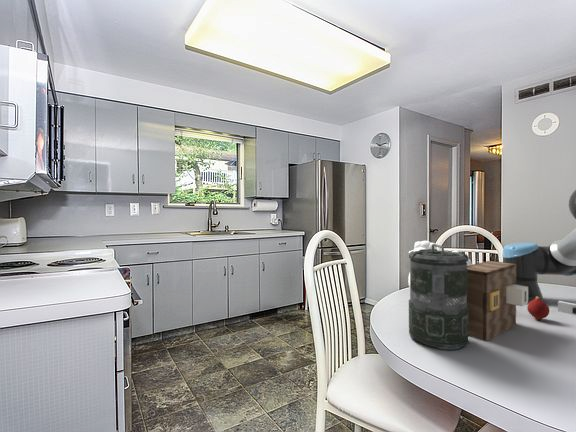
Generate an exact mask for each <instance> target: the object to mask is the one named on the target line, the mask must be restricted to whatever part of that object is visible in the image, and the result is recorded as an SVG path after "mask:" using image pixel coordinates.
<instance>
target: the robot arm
mask: <svg viewBox="0 0 576 432" xmlns="http://www.w3.org/2000/svg"><path fill="white" fill-rule="evenodd" d="M568 208H569V209H568V210H569V212H570V214H571V216H572V217H573V218H574V219H575V220H576V189H575V190H574V191H573V192H572V194H571V195H570V196H569V200H568ZM502 250H503V251H502V262H504V263H512V264H516V285H520V286H526V287H528V304H529V302H530V301H532V300H534V299H536V298H535V297H539V298H540V299H541V300H543V299H544V297H543V293H542V291H541V288H540V286H539V283H538V275H542V276H543V275H548V276H551V275H552V276H565V277H569V276H571V277H572V276H576V227H575V228H574V229H573V230H572V231H570V232H569V233H568V234H567V235H566V236H565V237H564V238H563V239H557V240H555V241H553V242H552V243H551V244H549V245H547V246H543V245H541V246H539V245H538V244H537V243H535V242H514V243H507V244H506V245H505V246H503V249H502ZM543 301H544V300H543ZM557 312H560V313H564V314H568V315H569V314H570V315H574V316H576V303H573V302H567V301H562V300H558V301H557Z"/></svg>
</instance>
